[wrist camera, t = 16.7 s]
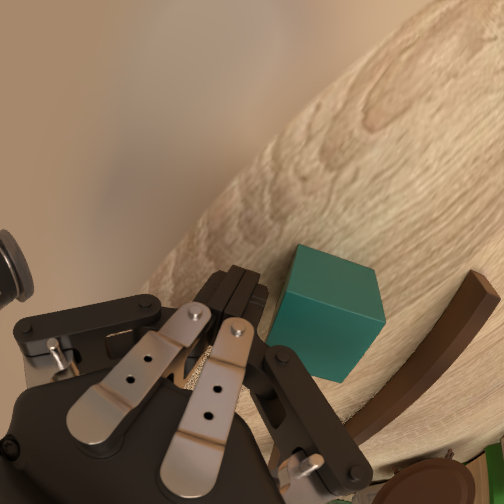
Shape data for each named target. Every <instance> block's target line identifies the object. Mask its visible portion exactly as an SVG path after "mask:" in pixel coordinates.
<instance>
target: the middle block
mask: <svg viewBox="0 0 504 504" xmlns="http://www.w3.org/2000/svg"><path fill="white" fill-rule="evenodd" d="M283 462H284V459H283V457H282V455H281V453H280V452H279V450H278V448H277V446H276V444H275V443H274V446H273V449H272V453H271V456H270V460H269V463H268V469H269V471H270V473H271V475H272V477H274V478H279V477H278V469H279V467H280V465H281V464H282V463H283Z"/></svg>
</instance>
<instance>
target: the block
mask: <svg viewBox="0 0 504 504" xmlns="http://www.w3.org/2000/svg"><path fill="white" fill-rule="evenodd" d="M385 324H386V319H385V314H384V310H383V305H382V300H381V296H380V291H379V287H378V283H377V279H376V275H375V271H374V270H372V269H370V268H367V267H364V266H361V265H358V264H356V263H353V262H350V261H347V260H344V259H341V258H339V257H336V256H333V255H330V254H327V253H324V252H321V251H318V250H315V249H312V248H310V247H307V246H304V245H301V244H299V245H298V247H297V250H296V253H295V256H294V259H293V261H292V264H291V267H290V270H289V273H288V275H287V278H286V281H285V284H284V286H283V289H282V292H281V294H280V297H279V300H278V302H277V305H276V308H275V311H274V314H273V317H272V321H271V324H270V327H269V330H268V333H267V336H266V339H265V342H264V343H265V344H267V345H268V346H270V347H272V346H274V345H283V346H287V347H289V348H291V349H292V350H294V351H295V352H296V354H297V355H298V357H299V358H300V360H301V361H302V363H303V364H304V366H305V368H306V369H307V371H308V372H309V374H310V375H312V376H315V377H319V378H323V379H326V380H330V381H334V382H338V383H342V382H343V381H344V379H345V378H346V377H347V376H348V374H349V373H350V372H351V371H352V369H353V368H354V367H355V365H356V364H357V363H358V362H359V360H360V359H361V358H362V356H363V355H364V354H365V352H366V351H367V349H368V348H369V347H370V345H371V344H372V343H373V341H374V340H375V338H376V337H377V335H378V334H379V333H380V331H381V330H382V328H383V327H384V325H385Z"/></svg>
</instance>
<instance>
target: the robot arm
mask: <svg viewBox="0 0 504 504" xmlns="http://www.w3.org/2000/svg"><path fill="white" fill-rule="evenodd" d="M260 275H261V274H259V273H257V272H254V271H251V270H248V269H247V270H246V269H245V268H242V267H239V266H236V265H232V266H231V268H230V269H229V271H228V272H227V273H226V272H224V271H221V270H219V271H217V272H215V273H213V274H212V275H211V277H210V278H209V279H208V281H207V282H206V283H205V285H204V286H203V287H202V289H201V290H200V292H199V293H198V294H197V296H196V297H195V298H194V300H193V301H192V302H187V303H184V304H183V305H182V306H181V307H180V308H178V309H175V308H167V307H161V302H160V300H159V299H158V298H157V297H155V296H153V295H150V294H140V295H135V296H130V297H126V298H121V299H116V300H111V301H107V302H102V303H97V304H92V305H87V306H83V307H78V308H72V309H67V310H62V311H57V312H52V313H47V314H42V315H37V316H31V317H26V318H23V319H21V320H19V321H18V322H17V323H16V325H15V326H14V329H13V335H14V337H15V339H16V341H17V343H18V345H19V347H20V350H21V352H22V354H23V357H24V368H25V376H26V384H27V390H25V391H24V392H22V393H21V394H20V396H19V397H18V398H17V400H16V402H15V405H14V409H13V415H12V420H11V423H10V427H9V429H8V432H7V434H6V435H5V437H4V438H3V439H1V440H0V504H326V503H328V502H330V501H332V500H335V499H338V498H341V497H344V496H347V495H350V494H352V493H355V492H357V491H360V490H362V489H364V488H366V487H367V486H368V485H369V484H370V482H371V480H372V477H373V471H372V467H371V465H370V464H369V462H368V461H367V459H366V458H365V456H364V455H363V453H362V452H361V450H360V449H359V447H358V446H357V445H356V443H355V442H354V440H353V439H352V437H351V436H350V434H349V433H348V431H347V430H346V428H345V427H344V425H343V424H342V422H341V421H340V419H339V418H338V416H337V415H336V413H335V412H334V410H333V409H332V407H331V406H330V404H329V403H328V401H327V400H326V398H325V397H324V395H323V394H322V392H321V391H320V389H319V387H318V386H317V384H316V383H315V381H314V380H313V378H312V377H311V375H310V374H309V372H308V371H307V369H306V368H305V366H304V364H303V363H302V361H301V360H300V358H299V357H298V355H297V354H296V352H295V351H294V350H292V349H291V348H289V347H287V346H283V345H274V346H272V347H270V346H268V345H267V344H265V343H264V342H263V341H262V340H261V339H260V338H259V336H258V334H257V327H258V324H259V321H260V319H261V316H262V313H263V310H264V307H265V304H266V301H267V298H268V295H269V292H268V288H267V286H264V285H261V284H258V282H259V279H260ZM20 294H21V288H20V284H19V280H18V277H17V275H16V272H15V270H14V267H13V265H12V263H11V261H10V259H9V257H8V255H7V254H6V252H5V250H4V249H3V248H2V246H1V245H0V310H2V309H3V308H4V307H5V306H6V305H8V304H9V303H10V302H11V301H13V300H14V299H15V298H17V297H19V296H20ZM130 329H132V331H130V332H126V333H122V334H118V335H114V336H110V337H106V336H108V335H110V334H114V333H118V332H122V331H126V330H130ZM209 345H211V346H213V348H212V350H211V353H210V355H209V357H208V356H207V358H206V360H205V362H204V365H203V367H202V370H201V372H200V375H199V377H198V380H197V382H196V385H195V387H194V390H193V391H192V390H187V389H183V388H184V386H185V384H186V383H187V381H188V380H189V378H190V377H191V375H192V374H193V372H194V371H195V369H196V368H197V366H198V365H199V363H200V362H201V360H202V359H203V357H204V353H205V352H206V350H207V348H208V346H209ZM89 372H90V373H89ZM85 373H86V374H85ZM81 374H82V375H81ZM78 375H79V376H78ZM242 384H243V385H244V386H245V387H247V388H248V389H250V395H251V397H252V399H253V401H254V403H255V405H256V407H257V409H258V411H259V413H260V415H261V417H262V419H263V421H264V423H265V425H266V427H267V429H268V431H269V433H270V435H271V437H272V438H273V440H274V442H275V444H276V446H277V448H278V450H279V452H280V453H281V455H282V457H283V459H284V462H283V463H282V464H281V465H280V467H279V469H278V477H279V480H280V490H279V489H278V487H277V485H276V483H275V481H274V479H273V477H272V475H271V473H270V471H269V469H268V466H267V464H266V462H265V460H264V458H263V456H262V454H261V451H260V449H259V447H258V445H257V443H256V440H255V438H254V436H253V434H252V432H251V429H250V428H249V426H248V425H247V423H246V422H245V421H244V420H243V419H242V418H241V417H240V416H239V415H238V414H237V413H236V412H235V409H236V405H237V402H238V398H239V394H240V390H241V387H242Z"/></svg>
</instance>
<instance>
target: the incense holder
mask: <svg viewBox="0 0 504 504" xmlns="http://www.w3.org/2000/svg"><path fill="white" fill-rule="evenodd" d="M384 484H385V483H382V484H377V485H371V486H367V487H366V488H364V489H362V490H360V491H357V492H356V493H355V495H354V496H353V497H352V504H372V501H373V499H374V498H375V496H376V494H377V493H378V492H379V490H380V489H381V488H382V487H383V485H384Z"/></svg>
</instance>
